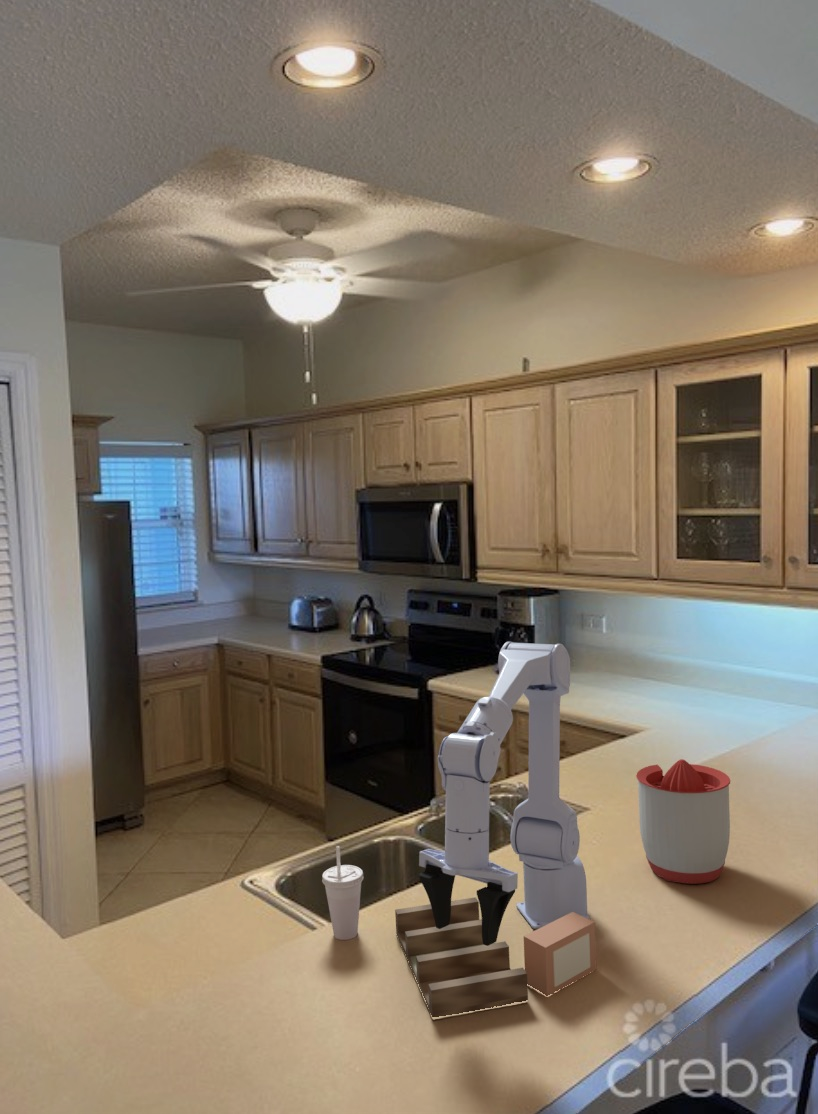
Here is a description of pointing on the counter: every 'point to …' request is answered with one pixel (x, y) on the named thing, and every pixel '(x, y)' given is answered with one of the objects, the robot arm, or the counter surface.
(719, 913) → the counter surface
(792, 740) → the counter surface
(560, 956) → the pink rectangular block
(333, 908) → the smoothie
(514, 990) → the rack
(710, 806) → the citrus juicer
